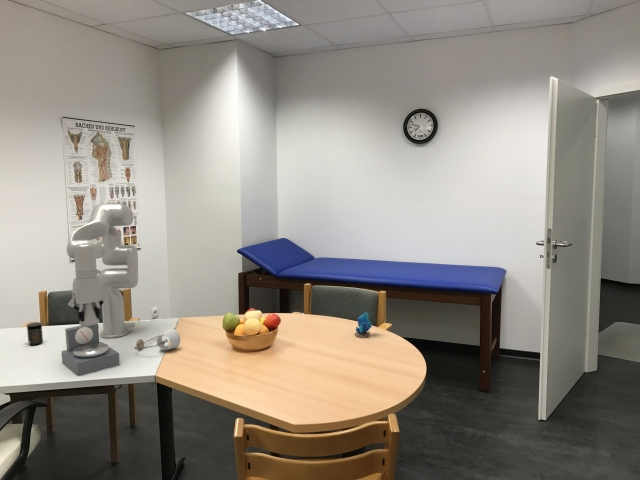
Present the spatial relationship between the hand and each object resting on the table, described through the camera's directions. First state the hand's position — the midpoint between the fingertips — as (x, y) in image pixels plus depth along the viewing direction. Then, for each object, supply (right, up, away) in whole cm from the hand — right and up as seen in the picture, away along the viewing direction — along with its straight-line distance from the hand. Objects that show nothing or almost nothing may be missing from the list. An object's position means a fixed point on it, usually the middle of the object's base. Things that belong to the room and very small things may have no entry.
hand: (89, 318), depth 202 cm
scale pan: (0, -13, +2) cm, 13 cm away
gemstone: (+112, -14, +39) cm, 119 cm away
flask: (0, -2, 0) cm, 2 cm away
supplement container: (-36, -16, +27) cm, 48 cm away
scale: (-1, -19, +4) cm, 19 cm away
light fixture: (+24, -16, +31) cm, 42 cm away
